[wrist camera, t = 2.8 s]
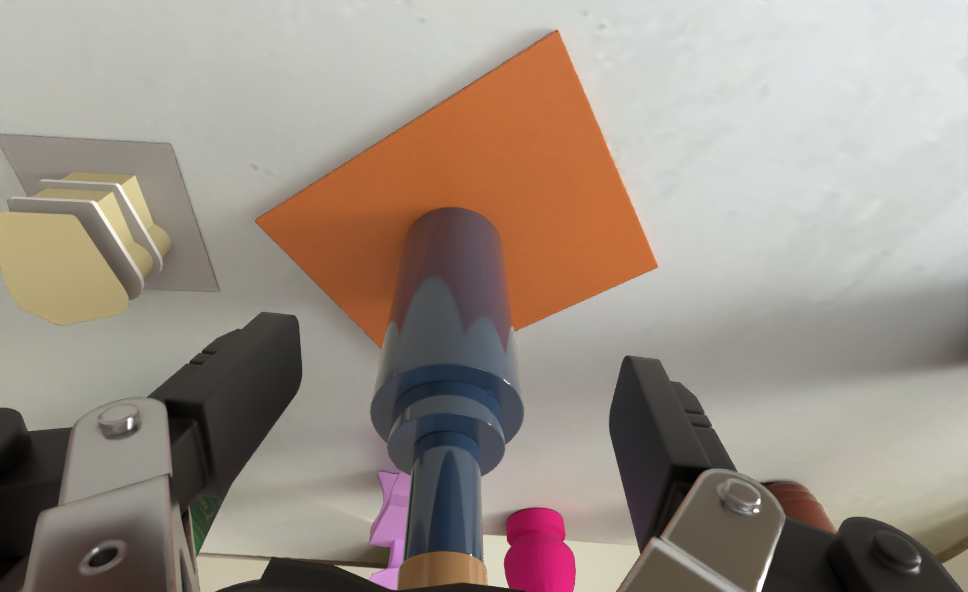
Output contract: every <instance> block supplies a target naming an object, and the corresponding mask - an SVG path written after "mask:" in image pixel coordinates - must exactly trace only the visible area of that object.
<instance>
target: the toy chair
mask: <svg viewBox="0 0 968 592" xmlns="http://www.w3.org/2000/svg"><path fill="white" fill-rule="evenodd" d="M377 474H378V477H379V480H380V483H381V486H382V490H383V500H384V502H383V506H382V509H381V511H380V513H379V515H378V517H377V518H376V520H375V521H374V523H373V524H372V527H371V531H370V533H371V534H370V540H369V545H376V546H382V547H391V551H390V557H389V564H388V568H386V569H384V570H382V571H379V572H377V573H374V574H372V576H371V577H370V579H369V581H372V582H374V583H376V584H379V585H381V586H383V587H386V588H388V589H392V590H396V586H397V576H398V570H399V568H400V566H401V565H402V559H403V549H404V538H405V528H406V518H407V508H408V498H409V488H410V477H411V476H409V475H408V474H406V473H404V472H403V471H401V472H400V473H399V475H397V474H392V473H387V472H381V471H379V472H378V473H377Z"/></svg>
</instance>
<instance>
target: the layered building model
mask: <svg viewBox="0 0 968 592" xmlns="http://www.w3.org/2000/svg"><path fill="white" fill-rule="evenodd" d="M0 146H1V148H2V150H3V152H4V154H5V155H6V157H7V159H8V161H9V163H10V165H11V166H12V168H13V170H14V172H15V174H16V175H17V177H18V179H19V181H20V183H21V185H22V186H23V188H24V190H25V192H26V194H27V195H28V197H19V196H12V197H11V198H9V199H8V200H7V202H8V206H9V211H10V212H3V211H0V267H1V271H2V274H3V278H4V282H5V285H6V288H7V290H8V291H9V293H10V294H11V296H12V297H13V299H14V300H15V302H16V303H17V305H18V306H19V308H21V309H22V310H25V311H27V312H29V313H31V314H33V315H36V316H38V317H40V318H42V319H44V320H47V321H49V322H51V323H53V324H55V325H68V324H73V323H78V322H83V321H89V320H94V319H99V318H104V317H110V316H115V315H119V314H121V313H123V312H124V311H125V310H126V309H127V307H128V305H129V301H130V300H133V299H135V298H137V297H138V296H139V295H140V294H141V292H142V291H143V289H152V290H180V291H208V292H219V289H218V286H217V283H216V280H215V277H214V274H213V271H212V268H211V265H210V262H209V259H208V256H207V253H206V250H205V247H204V244H203V241H202V238H201V235H200V231H199V228H198V225H197V222H196V219H195V216H194V213H193V210H192V207H191V204H190V201H189V198H188V195H187V192H186V189H185V186H184V183H183V180H182V177H181V174H180V171H179V168H178V165H177V162H176V159H175V156H174V153H173V150H172V146H171V144H159V143H141V142H123V141H106V140H88V139H70V138H53V137H35V136H18V135H0Z"/></svg>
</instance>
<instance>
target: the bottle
mask: <svg viewBox="0 0 968 592" xmlns="http://www.w3.org/2000/svg"><path fill="white" fill-rule="evenodd" d="M370 414H371V420H372V423H373V426H374V428H375V430H376V432H377V433H378V434H379V436H380V437H381V438H382V439H383V440H384V441H385V442H386V443H388V446H387V448H388V454H389V457H390V459H391V461H392V462H393V463H394V465H395V466H396V467H397V468H399V469H400V470H401V471H403V472H404V473H406V474H408V475H409V476H411V477H410V488H409V498H408V508H407V518H406V528H405V538H404V549H403V559H402V565H401V566H400V568H399V570H398V576H397V586H396V590H405V589H413V588H421V587H429V586H437V585H445V584H453V583H461V582H464V583H472V584H480V585H487V569H486V567H485V565H484V564H483V537H482V536H483V533H482V501H481V476H483V475H485V474H487V473H488V472H490V471H491V470H493V469H494V468H495V467H496V466H497V465H498V464H499V463H500V461H501V460H502V458H503V456H504V453H505V445H506V444H507V443H508V442H509V441H511V440H512V439H513V437H514V436H515V435H516V434H517V432H518V431H519V429H520V427H521V424H522V422H523V417H524V406H523V398H522V390H521V382H520V374H519V366H518V358H517V350H516V343H515V335H514V327H513V319H512V311H511V303H510V295H509V287H508V280H507V272H506V264H505V256H504V248H503V243H502V239H501V236H500V234H499V232H498V231H497V229H496V228H495V226H494V225H493V224H492V223H491V222H490V221H489V220H488V219H486V218H485V217H484V216H482V215H480V214H478V213H476V212H474V211H471V210H468V209H464V208H458V207H447V208H440V209H436V210H433V211H430V212H428V213H426V214H424V215H423V216H421V217H420V218H418V219H417V220H416V221H415V222H414V223H413V224H412V225H411V226H410V228H409V229H408V231H407V233H406V235H405V238H404V241H403V246H402V251H401V256H400V261H399V266H398V271H397V276H396V281H395V286H394V291H393V296H392V301H391V306H390V311H389V316H388V321H387V327H386V332H385V337H384V342H383V347H382V352H381V357H380V362H379V367H378V372H377V377H376V382H375V387H374V392H373V397H372V402H371V410H370Z"/></svg>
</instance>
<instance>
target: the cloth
mask: <svg viewBox="0 0 968 592" xmlns="http://www.w3.org/2000/svg"><path fill="white" fill-rule="evenodd" d="M447 207H458V208H464V209H468V210H471V211H474V212H476V213H478V214H480V215H482V216H484V217H485V218H486V219H488V220H489V221H490V222H491V223H492V224H493V225H494V226H495V228H496V229H497V231H498V232H499V234H500V236H501V239H502V243H503V248H504V256H505V264H506V272H507V280H508V287H509V295H510V303H511V311H512V319H513V327H514V331H516V330H519V329H521V328H523V327H525V326H528V325H530V324H532V323H534V322H537V321H539V320H541V319H543V318H545V317H548V316H550V315H552V314H554V313H557V312H559V311H561V310H563V309H566V308H568V307H570V306H572V305H575V304H577V303H579V302H581V301H584V300H586V299H588V298H590V297H592V296H595V295H597V294H599V293H601V292H604V291H606V290H608V289H610V288H613V287H615V286H617V285H619V284H622V283H624V282H626V281H628V280H631V279H633V278H635V277H637V276H639V275H642V274H644V273H646V272H648V271H651V270H653V269H655V268H657V267H658V265H657V262H656V260H655V258H654V255H653V253H652V250H651V248H650V246H649V243H648V241H647V239H646V236H645V234H644V232H643V229H642V227H641V225H640V222H639V220H638V217H637V215H636V213H635V210H634V208H633V206H632V203H631V201H630V199H629V196H628V194H627V191H626V189H625V187H624V184H623V182H622V180H621V177H620V175H619V173H618V170H617V168H616V166H615V163H614V161H613V158H612V156H611V154H610V151H609V149H608V147H607V144H606V142H605V140H604V137H603V135H602V133H601V130H600V128H599V125H598V123H597V121H596V118H595V116H594V114H593V111H592V109H591V107H590V104H589V102H588V99H587V97H586V95H585V92H584V90H583V88H582V85H581V83H580V81H579V78H578V76H577V74H576V71H575V69H574V66H573V64H572V62H571V59H570V57H569V55H568V52H567V50H566V48H565V45H564V43H563V41H562V38H561V36H560V33H559V31H558V30H556V31H554V32H553V33H551V34H549V35H548V36H546V37H545V38H543V39H541V40H540V41H538V42H537V43H535V44H534V45H532V46H530V47H529V48H527V49H526V50H524V51H522V52H521V53H519V54H518V55H516V56H514V57H513V58H511V59H510V60H508V61H507V62H505V63H503V64H502V65H500V66H499V67H497V68H495V69H494V70H492V71H491V72H489V73H488V74H486V75H484V76H483V77H481V78H480V79H478V80H476V81H475V82H473V83H472V84H470V85H468V86H467V87H465V88H464V89H462V90H461V91H459V92H457V93H456V94H454V95H453V96H451V97H449V98H448V99H446V100H445V101H443V102H442V103H440V104H438V105H437V106H435V107H434V108H432V109H430V110H429V111H427V112H426V113H424V114H422V115H421V116H419V117H418V118H416V119H415V120H413V121H411V122H410V123H408V124H407V125H405V126H403V127H402V128H400V129H399V130H397V131H396V132H394V133H392V134H391V135H389V136H388V137H386V138H384V139H383V140H381V141H380V142H378V143H376V144H375V145H373V146H372V147H370V148H369V149H367V150H365V151H364V152H362V153H361V154H359V155H357V156H356V157H354V158H353V159H351V160H350V161H348V162H346V163H345V164H343V165H342V166H340V167H338V168H337V169H335V170H334V171H332V172H331V173H329V174H327V175H326V176H324V177H323V178H321V179H319V180H318V181H316V182H315V183H313V184H311V185H310V186H308V187H307V188H305V189H304V190H302V191H300V192H299V193H297V194H296V195H294V196H292V197H291V198H289V199H288V200H286V201H285V202H283V203H281V204H280V205H278V206H277V207H275V208H273V209H272V210H270V211H269V212H267V213H265V214H264V215H262V216H261V217H259V218H258V219H256V221H255V222H256V223H257V224H258V225H259V226H260V227H261V228H262V229H263V230H264V231H265V232H266V233H267V234H268V235H269V236H270V237H271V238H272V239H273V240H274V241H275V242H276V243H277V244H278V245H279V246H280V247H281V248H282V249H283V250H284V251H285V252H286V253H287V254H288V255H289V256H290V257H291V258H292V259H293V260H294V261H295V262H296V263H297V264H298V265H299V266H300V267H301V268H302V269H303V270H304V271H305V272H306V273H307V274H308V275H309V276H310V277H311V278H312V279H313V280H314V281H315V282H316V283H317V285H318V286H319V287H320V288H321V289H322V290H323V291H324V292H325V293H326V294H327V295H328V296H329V297H330V298H331V299H332V300H333V301H334V302H335V303H336V304H337V305H338V306H339V307H340V308H341V309H342V310H343V311H344V312H345V313H346V314H347V315H348V316H349V317H350V318H351V319H352V320H353V321H354V322H355V323H356V324H357V325H358V326H359V327H360V328H361V329H362V330H363V331H364V332H365V333H366V334H367V335H368V336H369V337H370V338H371V339H372V340H373V341H374V342H375V343H376V344H377V345H378V346H379V347H380V348H381V349H382V347H383V342H384V337H385V332H386V327H387V321H388V316H389V311H390V306H391V301H392V296H393V291H394V286H395V281H396V276H397V271H398V266H399V261H400V256H401V251H402V246H403V241H404V238H405V235H406V233H407V231H408V229H409V228H410V226H411V225H412V224H413V223H414V222H415V221H416V220H417V219H418V218H420V217H421V216H423V215H424V214H426V213H428V212H430V211H433V210H436V209H440V208H447Z"/></svg>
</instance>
